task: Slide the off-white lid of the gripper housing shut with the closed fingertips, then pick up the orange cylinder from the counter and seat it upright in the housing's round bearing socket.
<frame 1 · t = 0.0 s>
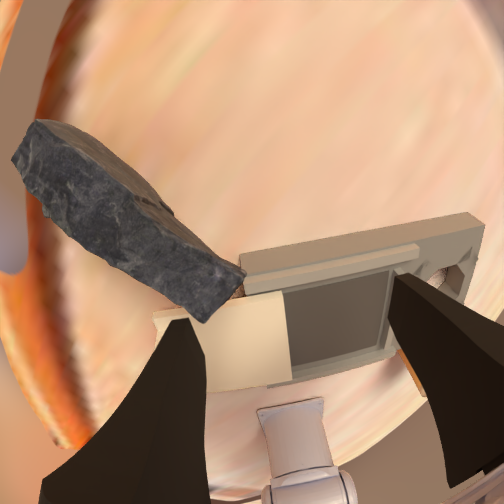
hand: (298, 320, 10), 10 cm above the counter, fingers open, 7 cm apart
stone: (140, 170, 16), on the counter
orange cylinder: (410, 336, 27), on the counter
lid: (231, 365, 19), point 5 cm above the counter, slide at 8.0 cm
housing: (370, 292, 23), on the counter
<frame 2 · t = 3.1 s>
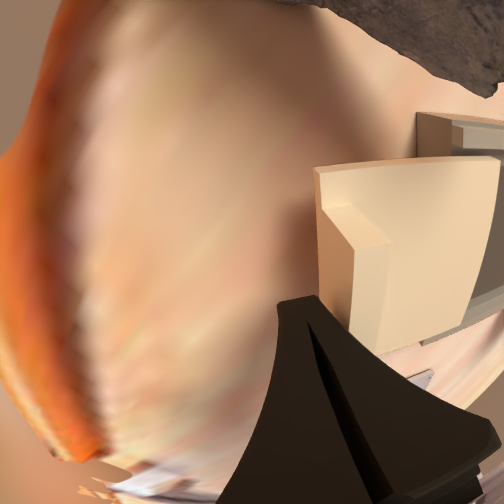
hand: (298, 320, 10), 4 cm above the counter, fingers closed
lid: (431, 288, 9), point 4 cm above the counter, slide at 7.9 cm, touching gripper
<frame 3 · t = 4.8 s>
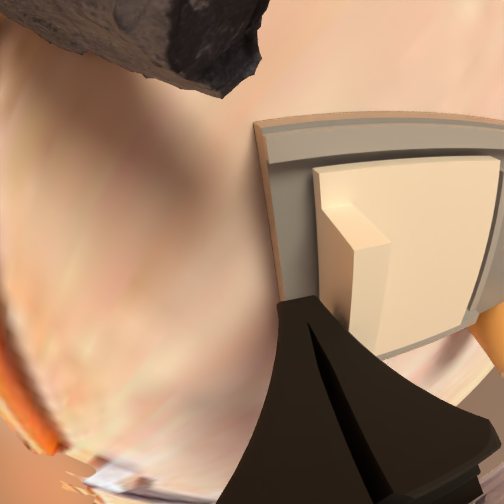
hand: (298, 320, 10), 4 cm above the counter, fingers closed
stone: (104, 3, 7), on the counter
orange cylinder: (477, 302, 17), on the counter
lid: (430, 287, 9), point 4 cm above the counter, slide at 0.5 cm, touching gripper
housing: (446, 221, 13), on the counter
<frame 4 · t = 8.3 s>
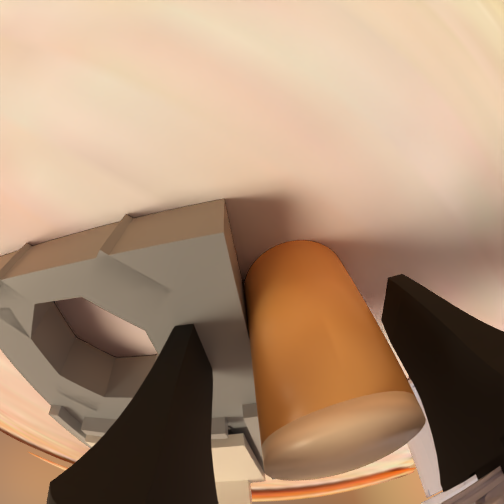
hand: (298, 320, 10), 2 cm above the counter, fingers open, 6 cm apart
orange cylinder: (295, 285, 11), on the counter
lid: (182, 483, 13), point 4 cm above the counter, slide at 0.5 cm
housing: (159, 391, 14), on the counter
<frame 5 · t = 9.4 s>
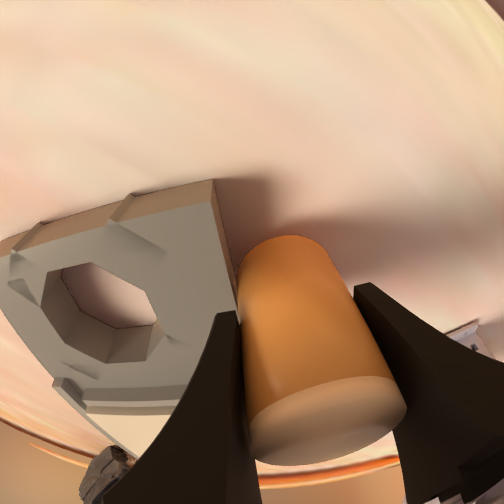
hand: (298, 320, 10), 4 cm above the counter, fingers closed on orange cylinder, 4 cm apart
stone: (107, 444, 24), on the counter
orange cylinder: (285, 279, 12), point 1 cm above the counter, touching gripper
lid: (177, 454, 14), point 4 cm above the counter, slide at 0.5 cm
housing: (155, 363, 16), on the counter
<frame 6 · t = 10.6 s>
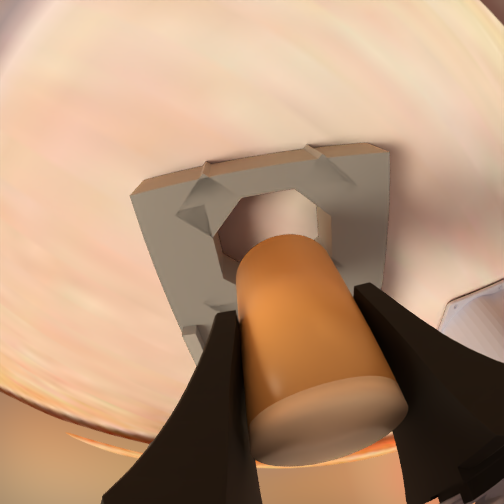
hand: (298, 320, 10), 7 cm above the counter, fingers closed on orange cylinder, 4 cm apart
orange cylinder: (285, 278, 12), point 5 cm above the counter, touching gripper
housing: (279, 307, 19), on the counter
when the fingers open (3 cm above the counter, at t = 11.7 s): orange cylinder stays where it is, resting in housing.
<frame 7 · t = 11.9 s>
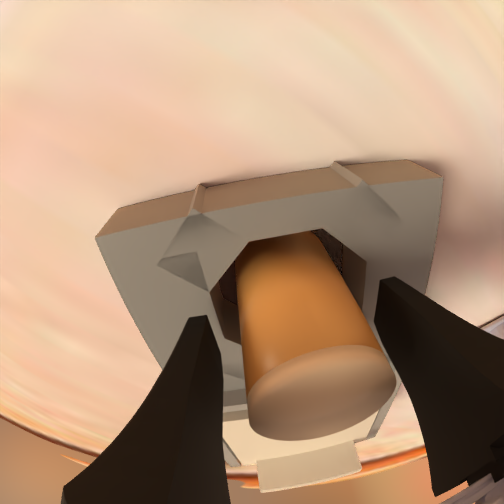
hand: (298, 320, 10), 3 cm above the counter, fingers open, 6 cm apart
orange cylinder: (281, 266, 13), resting in housing
lid: (307, 449, 14), point 4 cm above the counter, slide at 0.5 cm
housing: (291, 353, 16), on the counter
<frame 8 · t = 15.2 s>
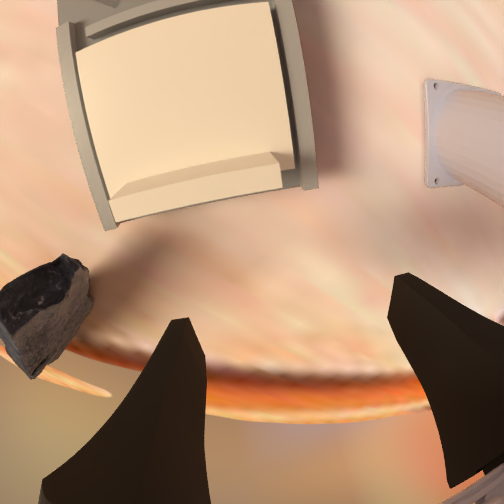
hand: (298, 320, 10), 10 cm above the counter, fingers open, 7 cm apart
stone: (70, 285, 20), on the counter
lid: (177, 99, 10), point 4 cm above the counter, slide at 0.5 cm
housing: (176, 30, 12), on the counter
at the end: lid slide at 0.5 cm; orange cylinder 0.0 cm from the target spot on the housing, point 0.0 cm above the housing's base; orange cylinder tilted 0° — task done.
